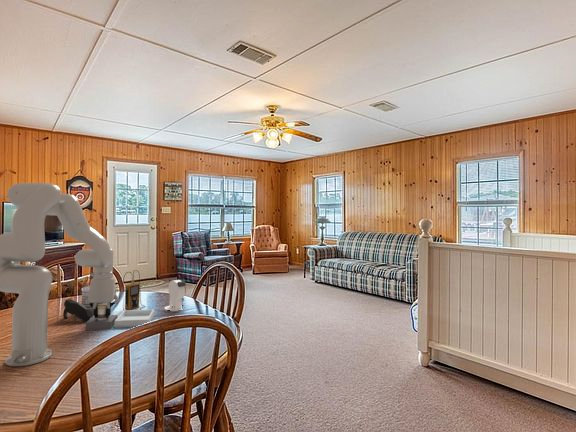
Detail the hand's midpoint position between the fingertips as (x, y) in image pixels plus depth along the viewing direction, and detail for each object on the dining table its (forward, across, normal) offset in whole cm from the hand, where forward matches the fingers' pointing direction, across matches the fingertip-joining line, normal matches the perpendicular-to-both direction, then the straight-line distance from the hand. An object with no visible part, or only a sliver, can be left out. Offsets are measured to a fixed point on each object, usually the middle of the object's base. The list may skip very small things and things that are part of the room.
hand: (102, 316), depth 149 cm
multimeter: (+4, +10, +24) cm, 26 cm away
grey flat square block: (+4, 0, 0) cm, 4 cm away
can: (+4, -11, +25) cm, 28 cm away
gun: (+4, -13, +10) cm, 17 cm away
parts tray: (+4, +13, +4) cm, 14 cm away
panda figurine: (+4, +29, +24) cm, 38 cm away
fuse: (+4, 0, 0) cm, 4 cm away
